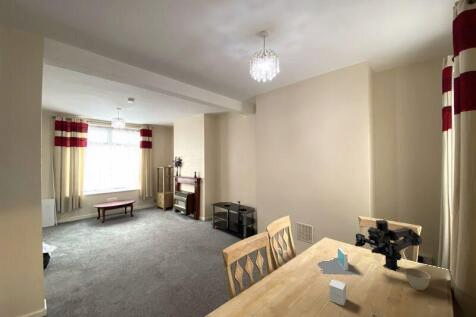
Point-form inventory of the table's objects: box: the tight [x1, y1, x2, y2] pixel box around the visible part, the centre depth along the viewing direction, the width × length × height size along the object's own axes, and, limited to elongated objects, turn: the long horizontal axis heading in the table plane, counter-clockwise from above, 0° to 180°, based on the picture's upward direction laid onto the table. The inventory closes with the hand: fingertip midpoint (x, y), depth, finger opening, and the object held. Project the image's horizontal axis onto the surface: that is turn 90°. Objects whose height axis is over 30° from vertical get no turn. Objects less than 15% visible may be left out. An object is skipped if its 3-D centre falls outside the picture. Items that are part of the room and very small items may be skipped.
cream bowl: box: [403, 267, 431, 291], centre depth 102 cm, size 10×10×7 cm
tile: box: [337, 247, 349, 270], centre depth 124 cm, size 2×10×9 cm, turn 175°
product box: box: [328, 278, 347, 307], centre depth 94 cm, size 6×6×7 cm
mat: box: [316, 257, 360, 276], centre depth 124 cm, size 20×20×1 cm
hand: (363, 248), depth 111 cm, fingers open, 9 cm apart
